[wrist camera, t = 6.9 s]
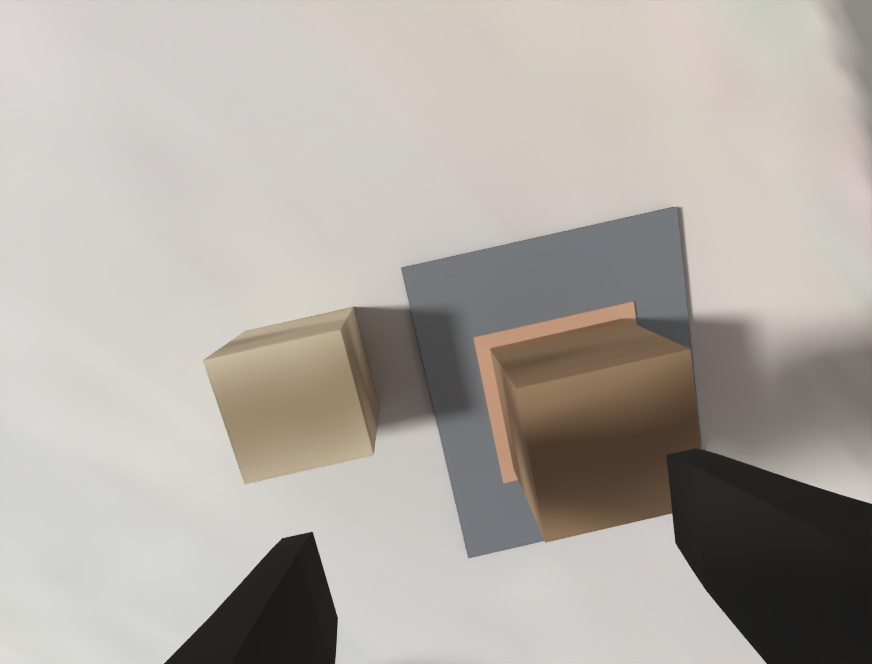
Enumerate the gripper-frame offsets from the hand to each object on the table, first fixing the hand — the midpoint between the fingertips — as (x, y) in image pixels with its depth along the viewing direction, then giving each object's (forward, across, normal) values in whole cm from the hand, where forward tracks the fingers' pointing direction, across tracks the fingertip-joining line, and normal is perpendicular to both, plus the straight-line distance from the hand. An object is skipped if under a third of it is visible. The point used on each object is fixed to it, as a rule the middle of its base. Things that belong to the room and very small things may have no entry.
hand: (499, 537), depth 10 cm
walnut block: (+9, -4, +1) cm, 10 cm away
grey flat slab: (+9, -4, +1) cm, 10 cm away
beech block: (+9, +5, -2) cm, 11 cm away
